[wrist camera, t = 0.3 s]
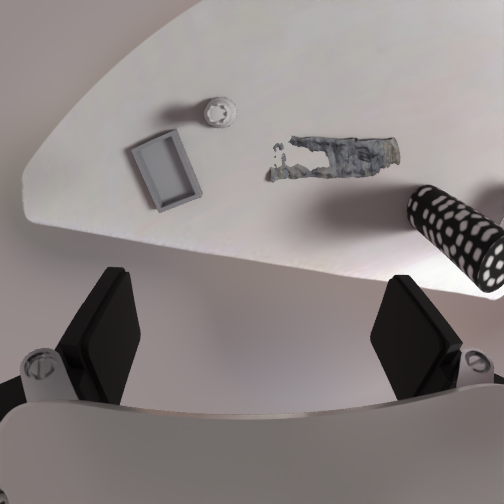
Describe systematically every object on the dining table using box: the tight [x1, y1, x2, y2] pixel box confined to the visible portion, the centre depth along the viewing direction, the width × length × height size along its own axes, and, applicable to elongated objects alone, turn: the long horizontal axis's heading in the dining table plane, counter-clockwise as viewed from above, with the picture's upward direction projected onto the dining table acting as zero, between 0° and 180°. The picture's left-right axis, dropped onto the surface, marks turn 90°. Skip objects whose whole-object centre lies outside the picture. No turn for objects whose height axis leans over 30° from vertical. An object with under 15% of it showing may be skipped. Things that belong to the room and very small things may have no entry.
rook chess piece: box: [204, 97, 237, 128], centre depth 35 cm, size 4×4×8 cm
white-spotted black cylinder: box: [407, 185, 504, 293], centre depth 37 cm, size 8×8×20 cm
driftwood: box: [270, 136, 400, 182], centre depth 42 cm, size 21×7×2 cm, turn 93°
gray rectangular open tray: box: [131, 129, 203, 213], centre depth 41 cm, size 10×7×2 cm, turn 19°
